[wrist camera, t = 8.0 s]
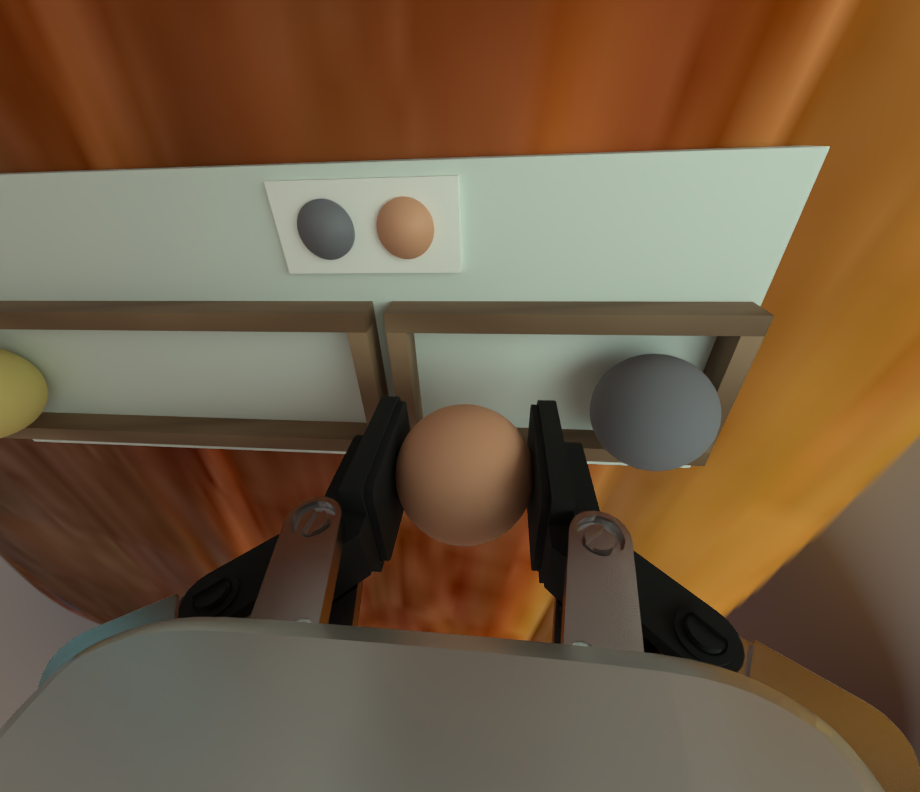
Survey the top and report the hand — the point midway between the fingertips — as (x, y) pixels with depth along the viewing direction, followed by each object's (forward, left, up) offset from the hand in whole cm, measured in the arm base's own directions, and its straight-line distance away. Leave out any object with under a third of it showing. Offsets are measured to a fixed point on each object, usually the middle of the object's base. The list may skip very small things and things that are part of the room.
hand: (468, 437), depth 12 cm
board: (-2, -7, -5) cm, 9 cm away
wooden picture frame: (0, -13, -4) cm, 14 cm away
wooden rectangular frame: (0, +3, -4) cm, 5 cm away
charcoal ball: (0, +6, -2) cm, 6 cm away
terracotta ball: (0, 0, +2) cm, 2 cm away
